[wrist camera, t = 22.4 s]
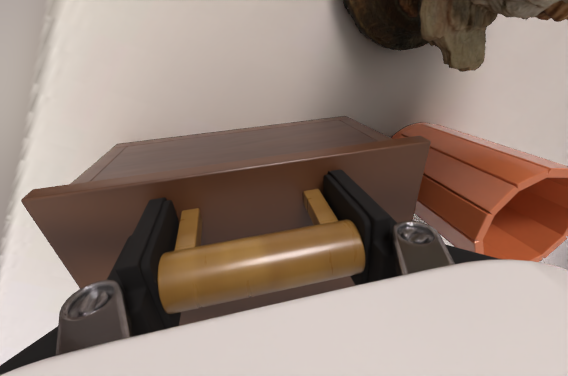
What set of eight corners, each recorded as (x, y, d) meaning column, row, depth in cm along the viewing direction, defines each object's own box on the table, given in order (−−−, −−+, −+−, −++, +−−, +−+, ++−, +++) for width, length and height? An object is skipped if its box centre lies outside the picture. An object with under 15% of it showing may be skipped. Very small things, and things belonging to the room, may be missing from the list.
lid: (31, 188, 10) (-102, 306, 6) (420, 134, 12) (525, 191, 8) (162, 394, 19) (146, 501, 14) (376, 340, 21) (416, 418, 17)
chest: (116, 143, 18) (61, 190, 12) (346, 115, 20) (400, 142, 14) (177, 311, 25) (162, 393, 19) (341, 276, 27) (376, 339, 21)
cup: (442, 108, 21) (596, 145, 13) (451, 174, 24) (581, 241, 16) (368, 145, 21) (470, 207, 13) (387, 206, 24) (479, 291, 16)
